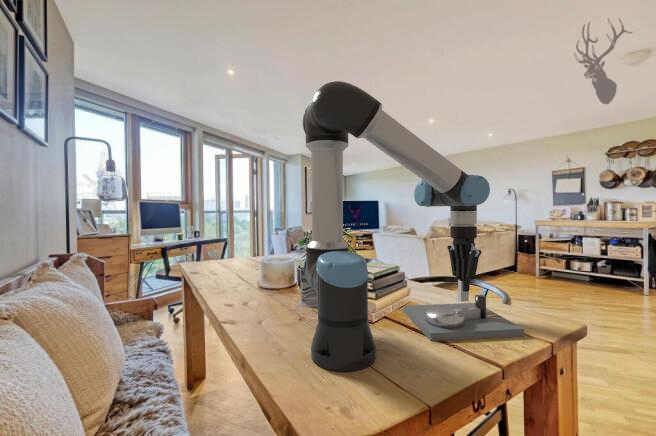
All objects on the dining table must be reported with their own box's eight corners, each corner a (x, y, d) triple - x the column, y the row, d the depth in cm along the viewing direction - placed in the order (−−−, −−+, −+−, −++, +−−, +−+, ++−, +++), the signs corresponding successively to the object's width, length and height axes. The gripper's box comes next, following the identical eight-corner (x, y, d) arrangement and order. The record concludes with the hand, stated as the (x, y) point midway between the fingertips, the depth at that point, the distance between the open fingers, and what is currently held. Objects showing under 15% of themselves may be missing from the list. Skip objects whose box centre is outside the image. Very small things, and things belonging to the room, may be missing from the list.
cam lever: (440, 330, 78) (440, 307, 78) (419, 317, 88) (418, 296, 88) (498, 322, 83) (498, 300, 83) (472, 310, 93) (472, 291, 93)
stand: (430, 340, 77) (430, 332, 77) (403, 311, 99) (403, 304, 99) (524, 336, 79) (524, 327, 79) (476, 308, 101) (476, 301, 101)
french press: (299, 298, 115) (298, 233, 114) (330, 298, 115) (329, 233, 114) (296, 307, 105) (294, 235, 105) (329, 307, 105) (328, 235, 104)
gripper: (489, 226, 88) (489, 306, 89) (460, 224, 101) (460, 294, 102) (467, 226, 87) (467, 308, 87) (440, 224, 99) (440, 295, 100)
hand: (463, 300), depth 94 cm, fingers closed
